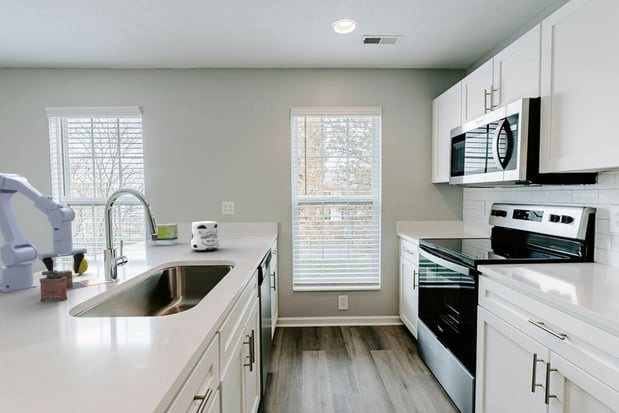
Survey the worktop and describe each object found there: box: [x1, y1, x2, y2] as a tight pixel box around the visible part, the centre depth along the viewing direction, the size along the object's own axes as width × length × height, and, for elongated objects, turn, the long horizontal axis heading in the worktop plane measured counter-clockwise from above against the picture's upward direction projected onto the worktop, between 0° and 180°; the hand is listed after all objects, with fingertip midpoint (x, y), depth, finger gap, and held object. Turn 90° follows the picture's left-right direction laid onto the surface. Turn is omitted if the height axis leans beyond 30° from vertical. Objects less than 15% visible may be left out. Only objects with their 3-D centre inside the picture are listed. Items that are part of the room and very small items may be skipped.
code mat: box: [39, 281, 89, 291], centre depth 123 cm, size 12×12×1 cm
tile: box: [79, 276, 116, 287], centre depth 131 cm, size 9×11×1 cm
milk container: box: [190, 220, 220, 252], centre depth 206 cm, size 17×17×18 cm
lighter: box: [39, 269, 69, 303], centre depth 107 cm, size 8×3×10 cm, turn 92°
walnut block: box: [61, 269, 73, 288], centre depth 122 cm, size 4×4×6 cm
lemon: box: [72, 257, 89, 275], centre depth 143 cm, size 6×6×8 cm
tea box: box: [151, 223, 179, 246], centre depth 235 cm, size 15×10×15 cm, turn 84°
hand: (64, 275), depth 122 cm, fingers open, 7 cm apart
